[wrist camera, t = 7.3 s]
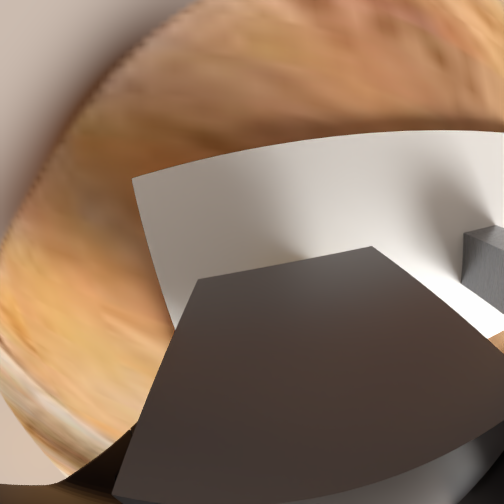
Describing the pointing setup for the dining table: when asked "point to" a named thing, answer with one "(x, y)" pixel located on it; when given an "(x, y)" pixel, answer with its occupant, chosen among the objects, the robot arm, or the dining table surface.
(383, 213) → the board
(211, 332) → the dark gray block
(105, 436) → the dining table surface
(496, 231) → the steel post
